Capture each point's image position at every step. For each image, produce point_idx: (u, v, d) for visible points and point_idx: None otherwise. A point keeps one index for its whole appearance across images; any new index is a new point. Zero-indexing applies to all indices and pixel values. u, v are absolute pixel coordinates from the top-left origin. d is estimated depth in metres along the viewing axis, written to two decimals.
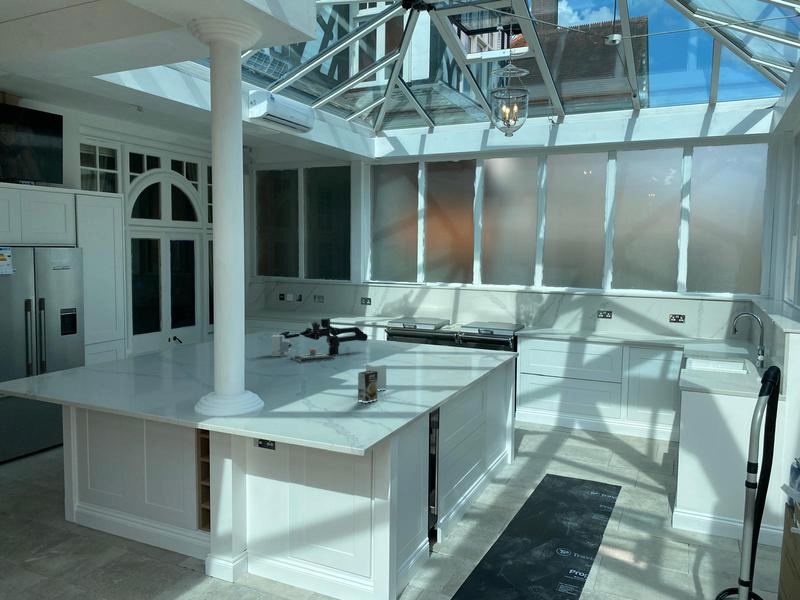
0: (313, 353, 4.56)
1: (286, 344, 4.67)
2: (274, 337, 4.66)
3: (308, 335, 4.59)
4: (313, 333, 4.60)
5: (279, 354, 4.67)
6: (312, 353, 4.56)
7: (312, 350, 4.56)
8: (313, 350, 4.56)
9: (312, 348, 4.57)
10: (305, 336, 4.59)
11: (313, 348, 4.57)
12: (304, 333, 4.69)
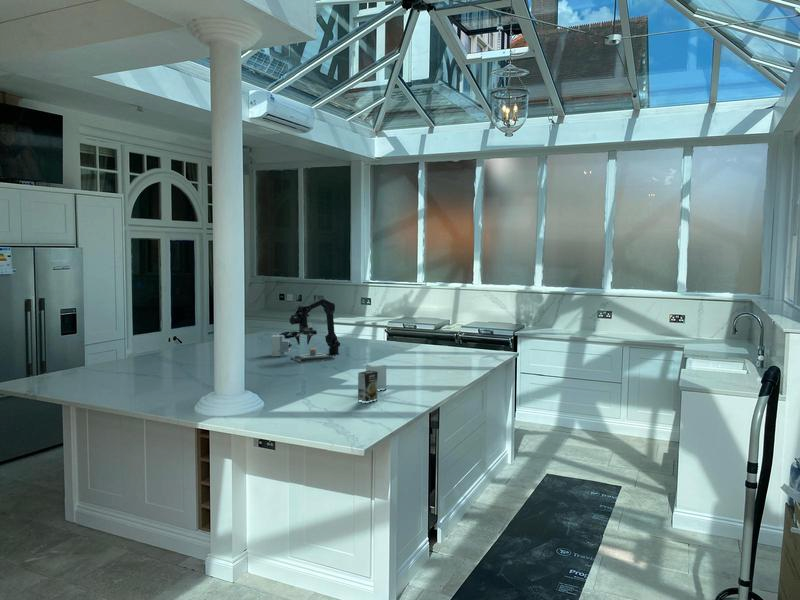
0: (313, 353, 4.56)
1: (286, 344, 4.67)
2: (274, 337, 4.66)
3: None
4: None
5: (279, 354, 4.67)
6: (312, 353, 4.56)
7: (312, 350, 4.56)
8: (313, 350, 4.56)
9: (312, 348, 4.57)
10: None
11: (313, 348, 4.57)
12: None
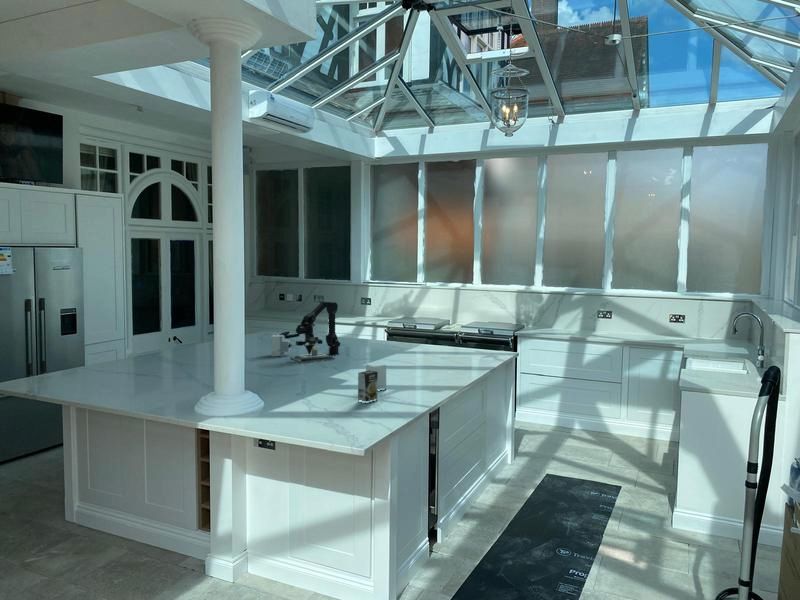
0: (315, 353, 4.57)
1: (286, 344, 4.67)
2: (274, 337, 4.66)
3: None
4: None
5: (279, 354, 4.67)
6: (314, 353, 4.57)
7: (314, 350, 4.56)
8: (315, 350, 4.57)
9: (314, 348, 4.58)
10: (309, 352, 4.57)
11: (315, 348, 4.58)
12: None
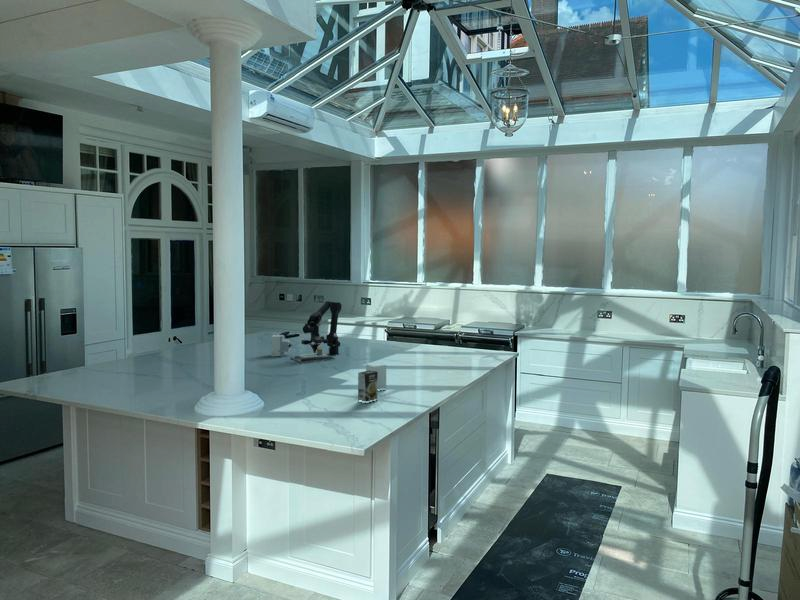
0: (320, 352, 4.59)
1: (286, 344, 4.67)
2: (274, 337, 4.66)
3: None
4: None
5: (279, 354, 4.67)
6: (319, 352, 4.59)
7: (319, 349, 4.58)
8: (320, 349, 4.59)
9: (319, 347, 4.60)
10: (314, 352, 4.59)
11: (320, 347, 4.60)
12: None
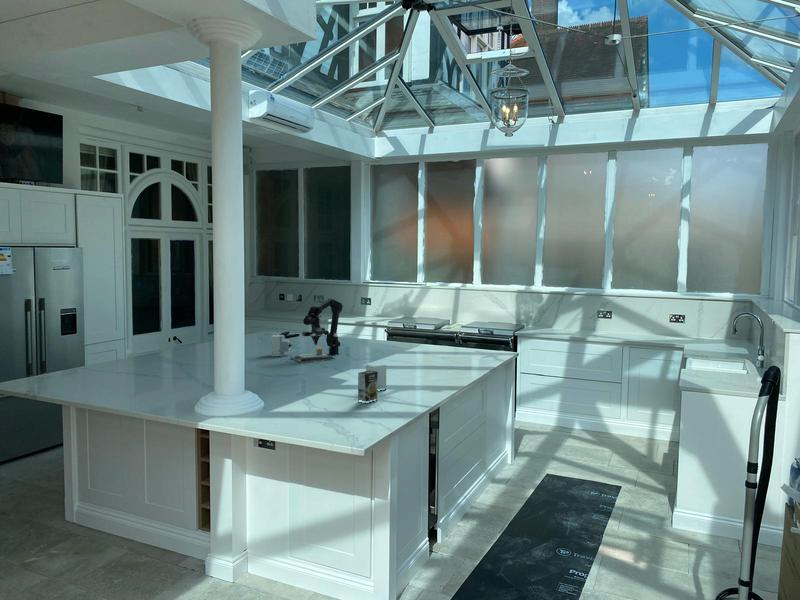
0: (320, 352, 4.59)
1: (286, 344, 4.67)
2: (274, 337, 4.66)
3: None
4: None
5: (279, 354, 4.67)
6: (319, 352, 4.58)
7: (319, 349, 4.58)
8: (320, 349, 4.59)
9: (319, 347, 4.60)
10: None
11: (320, 347, 4.60)
12: None
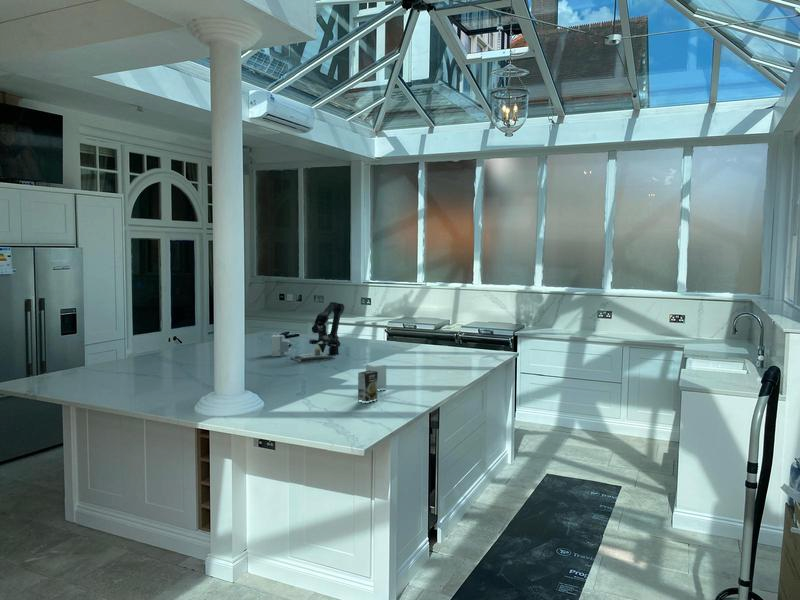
0: (318, 353, 4.58)
1: (286, 344, 4.67)
2: (274, 337, 4.66)
3: None
4: None
5: (279, 354, 4.67)
6: (317, 353, 4.58)
7: (317, 350, 4.58)
8: (318, 350, 4.58)
9: (317, 348, 4.59)
10: None
11: (318, 348, 4.59)
12: None
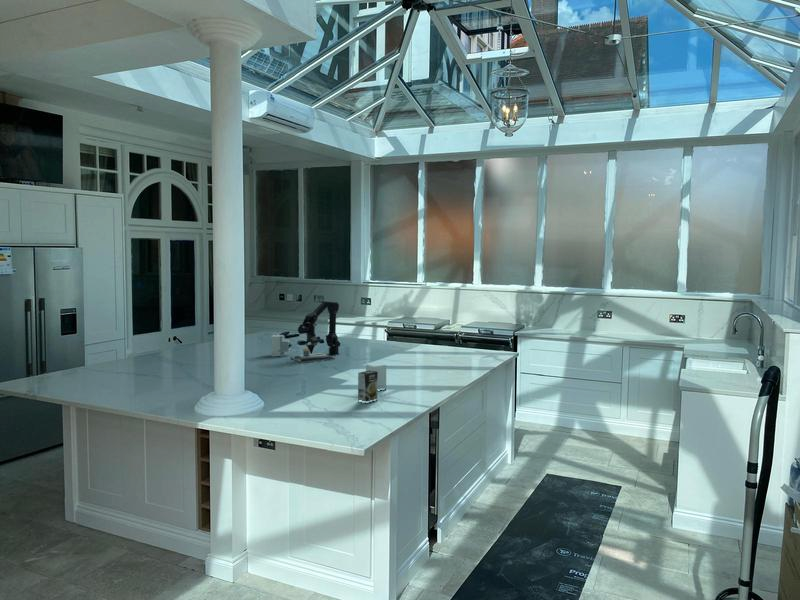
0: (306, 354, 4.54)
1: (286, 344, 4.67)
2: (274, 337, 4.66)
3: None
4: (314, 345, 4.56)
5: (279, 354, 4.67)
6: (305, 354, 4.53)
7: (305, 351, 4.53)
8: (306, 351, 4.54)
9: (305, 349, 4.54)
10: (311, 352, 4.57)
11: (306, 349, 4.54)
12: None
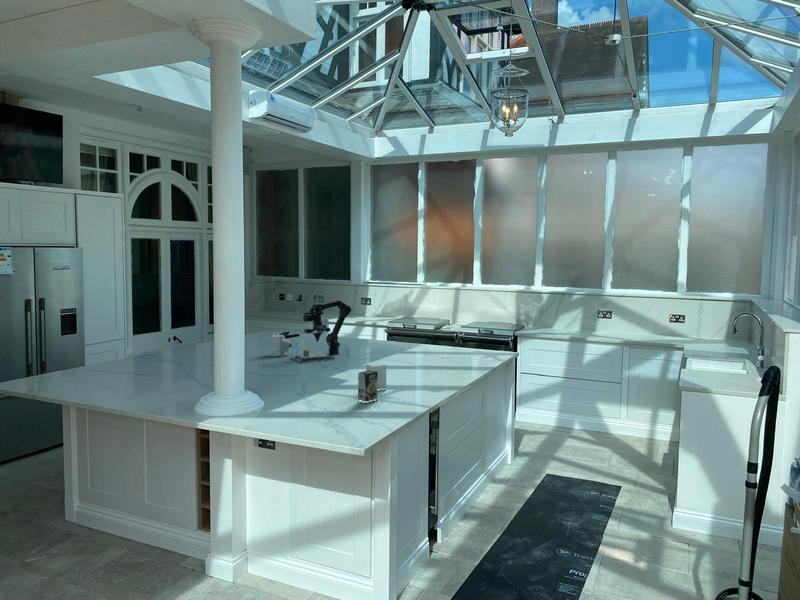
0: (306, 354, 4.54)
1: (286, 344, 4.67)
2: (274, 337, 4.66)
3: None
4: None
5: (279, 354, 4.67)
6: (305, 354, 4.53)
7: (305, 351, 4.53)
8: (306, 351, 4.54)
9: (305, 349, 4.54)
10: (317, 340, 4.68)
11: (306, 349, 4.54)
12: None
